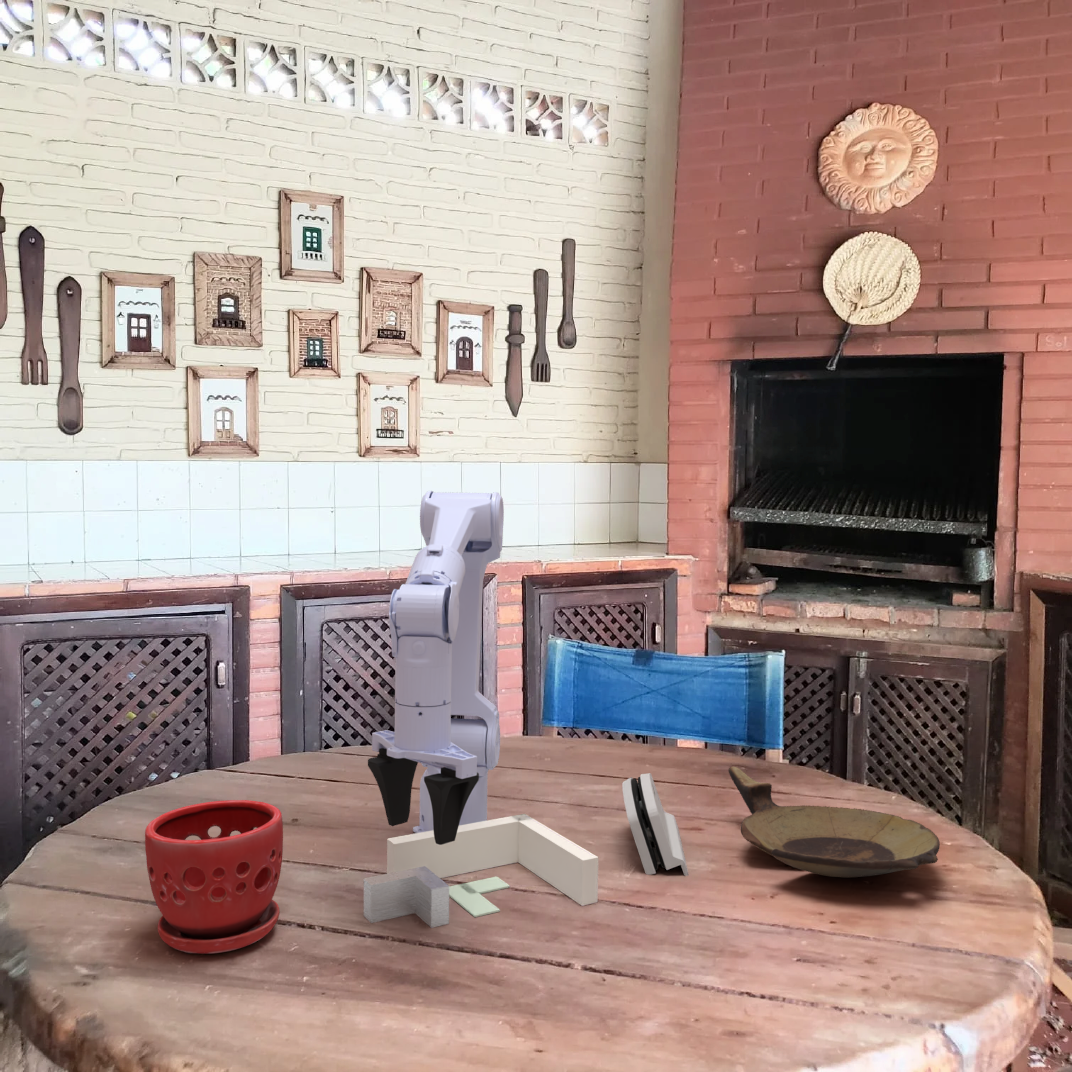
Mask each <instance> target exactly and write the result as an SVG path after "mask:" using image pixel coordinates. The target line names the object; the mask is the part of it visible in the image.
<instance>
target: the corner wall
mask: <svg viewBox="0 0 1072 1072" xmlns="http://www.w3.org/2000/svg"><path fill="white" fill-rule="evenodd" d="M516 863H519V864H520V865H521V866H523V867H524V868H526V869H527V870H529V871H530V872H531V873H533V874H534V875H536V876H537V877H539V878H540V879H541V880H544V881H545V882H546V883H548V884H549V885H551V886H553V887H554V888H555V889H557V890H558V891H559V892H561V893H563V894H564V895H566V896H567V897H568V898H570V899H571V900H573V901H574V902H576V903H577V904H579V905H580V906H582V907H583V906H587V905H591V904H596V903H598V899H599V896H598V895H599V894H598V891H599V856H597V855H595V854H593V853H591V852H590V851H589V850H587V849H585V848H583V847H581V846H580V845H578V844H576V843H575V842H573V841H572V840H570V839H568V838H567V837H565V836H563V835H561V834H560V833H558V832H556V831H555V830H553V829H551V828H550V827H548V826H546V825H545V824H544V823H541V822H539V820H536V819H535V818H533V817H531V816H530V815H528V814H526V813H522V814H516V815H510V816H504V817H499V818H493V819H487V821H482V822H476V823H471V824H465V825H459V826H458V830H457V834H456V838H455V841H452V842H449V843H446V844H442V845H439V844H436V842H435V838H434V830H432V831H426V832H421V833H415V832H414V833H411V834H405V835H399V836H395V837H388V838H387V839H386V874H388V873H393V872H398V871H403V870H408V869H413V868H418V867H423V866H425V867H427V868H428V869H429V870H430V871H432V872H433V873H434V874H435V875H437V876H438V877H439V878H440V879H444V878H447V877H453V876H457V875H462V874H467V873H472V872H479V871H482V870H486V869H491V868H497V867H501V866H506V865H507V866H508V865H511V864H516Z"/></svg>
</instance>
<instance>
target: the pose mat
mask: <svg viewBox="0 0 1072 1072" xmlns="http://www.w3.org/2000/svg"><path fill="white" fill-rule="evenodd" d="M510 887H511V886H510V885H509V884H508V883H507V882H506V881H504V880H502V879H501V878H500V877H498V876H492V877H487V878H482V879H478V880H474V881H468V882H465V883H459V884H455V885H451V886H450V885H449V898H451V899H452V900H453V901H455V902H456V903H457V904H458V905H459V906H460V907H462V908H463V909H464V910H465V911H467V913H468V914H470V915H471V916H472V917H473V918H478V917H483V916H486V915H490V914H495V913H499V912H501V910H500V908H499V907H498V906H496V905H495V904H494V903H492V902H491V901H489V900H488V899H487V898H486V897H484V896H483V894H486V893H490V892H495V891H499V890H503V889H507V888H509V889H510Z"/></svg>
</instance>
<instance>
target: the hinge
mask: <svg viewBox="0 0 1072 1072" xmlns="http://www.w3.org/2000/svg"><path fill="white" fill-rule="evenodd" d="M621 785H622V788H621V789H622V795H623V802H624V807H625V812H626V817H627V821H628V823H629V827H630V830H631V833H632V836H633V839H634V842H635V846H636V848H637V851H638V854H639V857H640V860H641V865H642V867H643V869H644V870H643V871H644V872H645V875H648V876H651V875H656V874H657V872H656V871H657V870H659V865H660V866H661V868H662V869H664V868H665V869H666V871H668V870H670V869H673V868H676V867H678V866H680V867H681V869H682V872H683V875H684V876H685V877H686V876H689V875H690V874H689V870H688V865H687V860H686V857H685V851H684V848H683V847H684V846H683V843H682V840H681V839H682V838H681V833H680V829H679V826H678V823H677V820H676V817H675V815H674V814H671V813H669V812H667V811H665V810H664V807H663V804H662V801H661V798H660V795H659V793H658V789H657V787H656V784H655V781H654V778H653V775H652V773H650V772H649V773H641V774H640V776H639V777H637V778H634V777H631V776H630V777H628V778H627V779H626V780H624V781H623V782H622V784H621ZM652 842H653V844H654V847H652Z"/></svg>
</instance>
